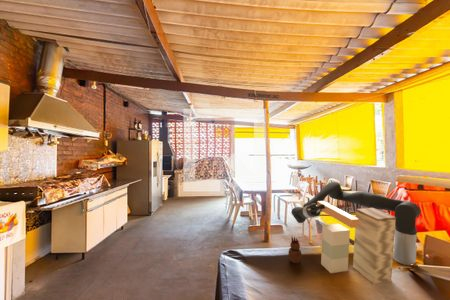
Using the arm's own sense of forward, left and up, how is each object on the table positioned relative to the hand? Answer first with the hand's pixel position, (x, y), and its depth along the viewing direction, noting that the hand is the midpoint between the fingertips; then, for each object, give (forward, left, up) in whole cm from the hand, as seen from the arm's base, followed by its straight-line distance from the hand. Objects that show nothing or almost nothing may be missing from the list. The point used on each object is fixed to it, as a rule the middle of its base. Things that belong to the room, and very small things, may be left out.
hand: (327, 205), depth 122 cm
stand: (-15, +15, -31) cm, 38 cm away
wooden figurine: (+18, -2, -32) cm, 36 cm away
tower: (0, +7, -31) cm, 32 cm away
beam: (0, +7, -3) cm, 7 cm away
